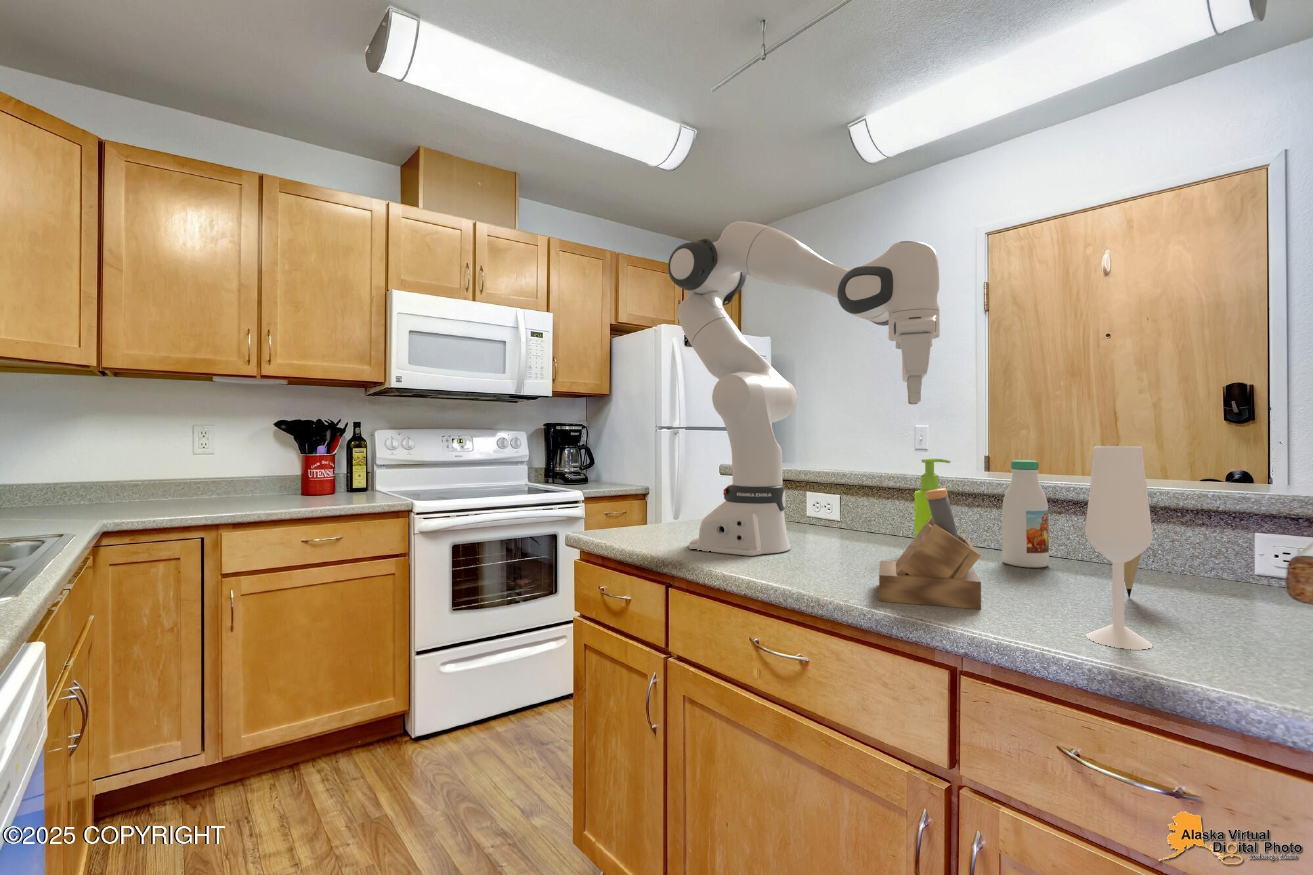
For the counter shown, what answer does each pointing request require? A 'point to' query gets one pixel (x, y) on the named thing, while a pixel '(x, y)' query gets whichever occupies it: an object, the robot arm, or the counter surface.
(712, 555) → the counter surface
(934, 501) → the grey orange cylinder
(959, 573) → the holder
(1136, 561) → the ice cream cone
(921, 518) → the soap dispenser
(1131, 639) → the champagne flute
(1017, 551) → the milk bottle
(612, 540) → the counter surface
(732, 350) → the robot arm
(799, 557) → the counter surface
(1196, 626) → the counter surface
